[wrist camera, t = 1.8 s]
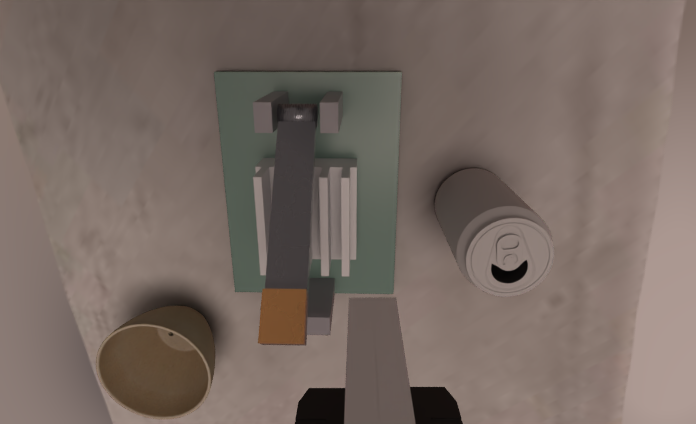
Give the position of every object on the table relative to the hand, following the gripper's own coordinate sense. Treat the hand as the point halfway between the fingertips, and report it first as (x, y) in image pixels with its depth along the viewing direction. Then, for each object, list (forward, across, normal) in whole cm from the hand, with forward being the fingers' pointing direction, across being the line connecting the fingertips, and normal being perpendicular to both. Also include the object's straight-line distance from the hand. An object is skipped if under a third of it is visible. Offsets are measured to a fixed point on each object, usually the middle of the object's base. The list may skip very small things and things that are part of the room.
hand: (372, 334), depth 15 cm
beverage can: (+27, +9, -4) cm, 28 cm away
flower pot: (+27, -18, -17) cm, 37 cm away
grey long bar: (+15, -5, -1) cm, 16 cm away
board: (+26, -5, -2) cm, 27 cm away
